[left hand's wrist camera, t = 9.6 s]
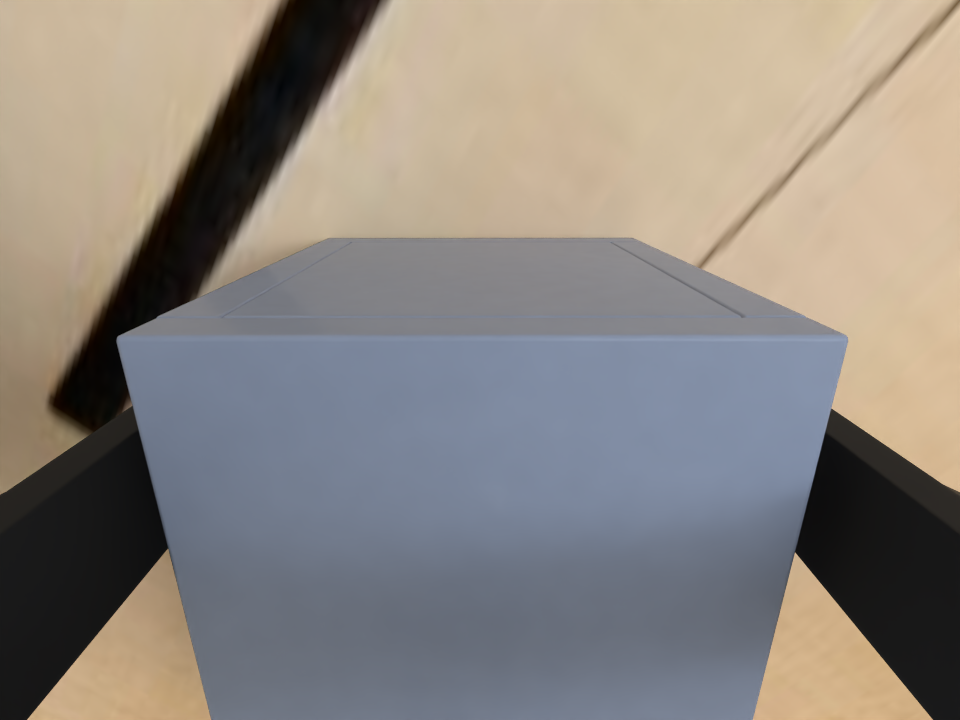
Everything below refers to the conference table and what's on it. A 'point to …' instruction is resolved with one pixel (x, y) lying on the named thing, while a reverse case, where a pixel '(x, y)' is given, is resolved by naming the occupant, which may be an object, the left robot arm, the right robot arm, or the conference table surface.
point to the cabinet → (482, 479)
